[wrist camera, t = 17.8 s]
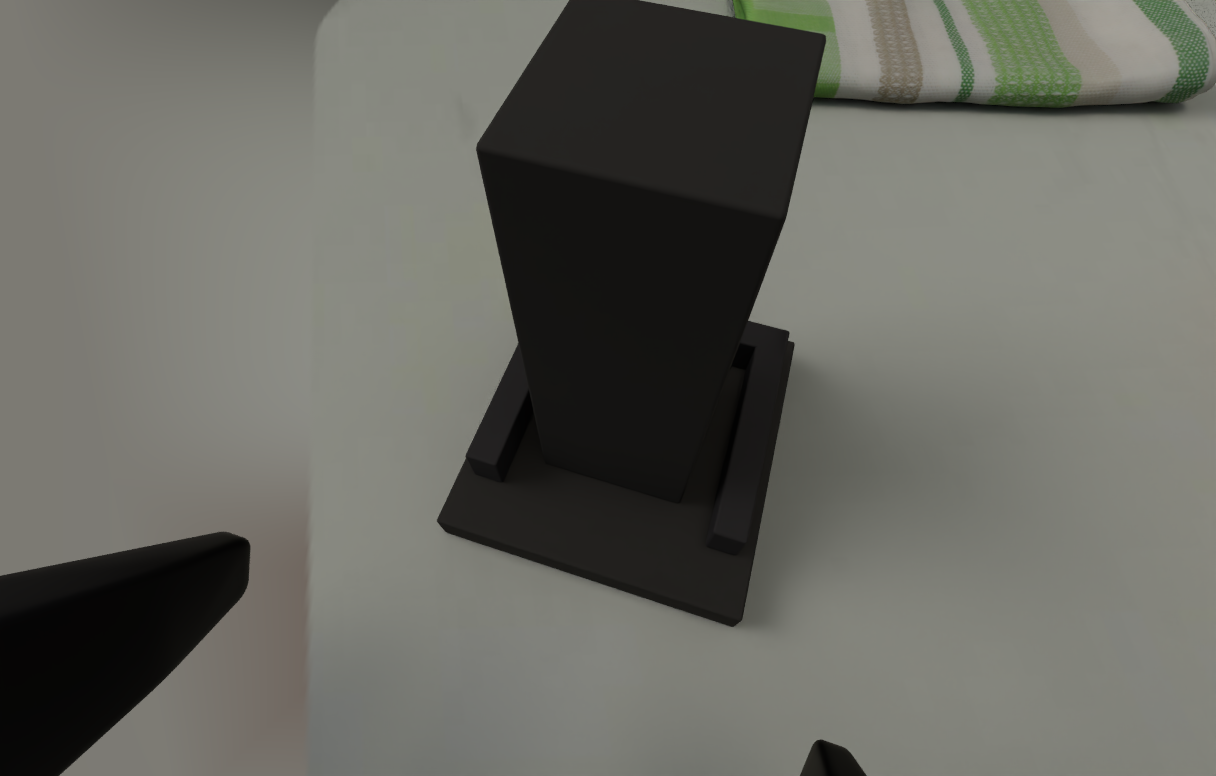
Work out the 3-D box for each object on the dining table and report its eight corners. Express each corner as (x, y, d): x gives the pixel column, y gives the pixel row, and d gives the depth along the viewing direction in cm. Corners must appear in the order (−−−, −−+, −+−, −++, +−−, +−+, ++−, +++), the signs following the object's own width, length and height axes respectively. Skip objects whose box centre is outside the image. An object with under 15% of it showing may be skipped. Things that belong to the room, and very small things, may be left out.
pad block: (680, 505, 18) (787, 217, 8) (543, 463, 19) (472, 145, 8) (711, 385, 20) (828, 32, 10) (588, 352, 21) (575, -14, 10)
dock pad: (733, 627, 18) (754, 613, 15) (444, 532, 19) (422, 505, 17) (786, 359, 22) (808, 317, 20) (552, 298, 24) (546, 251, 21)
